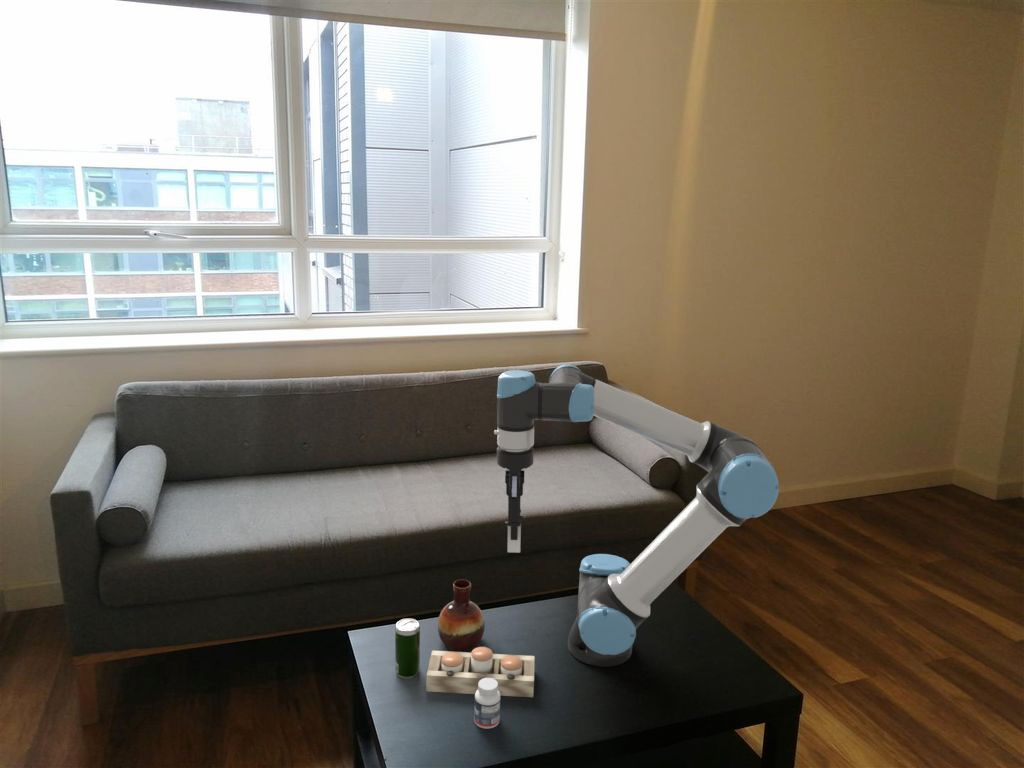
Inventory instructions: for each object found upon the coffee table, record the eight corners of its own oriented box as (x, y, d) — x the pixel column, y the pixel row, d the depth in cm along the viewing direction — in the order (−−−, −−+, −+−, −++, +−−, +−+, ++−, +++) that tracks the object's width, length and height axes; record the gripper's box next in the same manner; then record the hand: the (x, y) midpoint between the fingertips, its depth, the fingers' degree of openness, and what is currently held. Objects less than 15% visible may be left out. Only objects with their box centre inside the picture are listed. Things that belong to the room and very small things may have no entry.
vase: (455, 661, 182) (456, 601, 178) (428, 638, 190) (428, 580, 186) (493, 644, 189) (495, 586, 185) (466, 623, 197) (467, 567, 193)
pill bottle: (473, 712, 165) (474, 675, 163) (498, 711, 166) (500, 675, 164) (474, 730, 160) (475, 692, 158) (500, 729, 161) (501, 691, 158)
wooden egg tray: (533, 671, 179) (534, 655, 178) (533, 697, 171) (534, 680, 170) (431, 665, 180) (432, 649, 179) (426, 691, 171) (426, 674, 170)
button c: (463, 670, 178) (463, 653, 176) (461, 683, 173) (461, 665, 172) (442, 669, 178) (442, 652, 177) (440, 682, 173) (440, 664, 172)
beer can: (401, 682, 174) (401, 634, 171) (391, 669, 178) (391, 622, 175) (423, 674, 177) (424, 627, 174) (413, 662, 181) (413, 615, 178)
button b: (492, 665, 177) (493, 647, 176) (491, 678, 172) (491, 659, 171) (472, 664, 177) (472, 646, 176) (470, 676, 173) (470, 658, 171)
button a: (521, 674, 177) (522, 656, 176) (521, 687, 173) (521, 669, 172) (500, 672, 177) (501, 655, 176) (499, 686, 173) (500, 667, 172)
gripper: (498, 435, 170) (497, 536, 176) (495, 457, 157) (494, 565, 163) (533, 435, 169) (531, 537, 176) (533, 457, 157) (531, 566, 163)
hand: (513, 550), depth 170 cm, fingers closed
